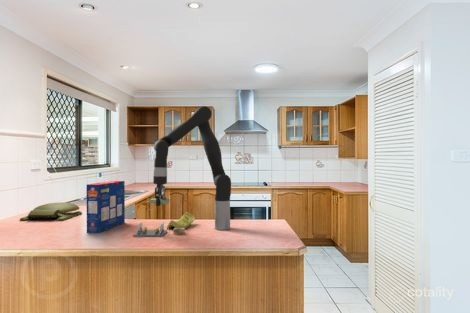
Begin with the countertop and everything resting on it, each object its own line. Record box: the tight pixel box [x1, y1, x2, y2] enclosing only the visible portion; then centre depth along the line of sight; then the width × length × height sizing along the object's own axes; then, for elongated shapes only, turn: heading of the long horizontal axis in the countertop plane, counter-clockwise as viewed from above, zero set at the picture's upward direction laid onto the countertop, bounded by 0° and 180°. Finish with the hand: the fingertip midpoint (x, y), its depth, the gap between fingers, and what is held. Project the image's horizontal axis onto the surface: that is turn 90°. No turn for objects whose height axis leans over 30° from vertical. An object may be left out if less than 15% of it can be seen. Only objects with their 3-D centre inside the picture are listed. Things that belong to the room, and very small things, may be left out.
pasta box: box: [86, 180, 126, 234], centre depth 202 cm, size 28×8×28 cm, turn 169°
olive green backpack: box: [19, 202, 83, 222], centre depth 239 cm, size 35×31×10 cm
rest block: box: [172, 227, 186, 236], centre depth 185 cm, size 6×4×3 cm, turn 89°
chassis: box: [132, 222, 168, 238], centre depth 184 cm, size 16×12×6 cm
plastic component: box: [166, 211, 196, 230], centre depth 204 cm, size 20×7×10 cm
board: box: [149, 197, 171, 205], centre depth 184 cm, size 10×6×3 cm, turn 90°
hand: (159, 204), depth 184 cm, fingers closed on board, 6 cm apart
